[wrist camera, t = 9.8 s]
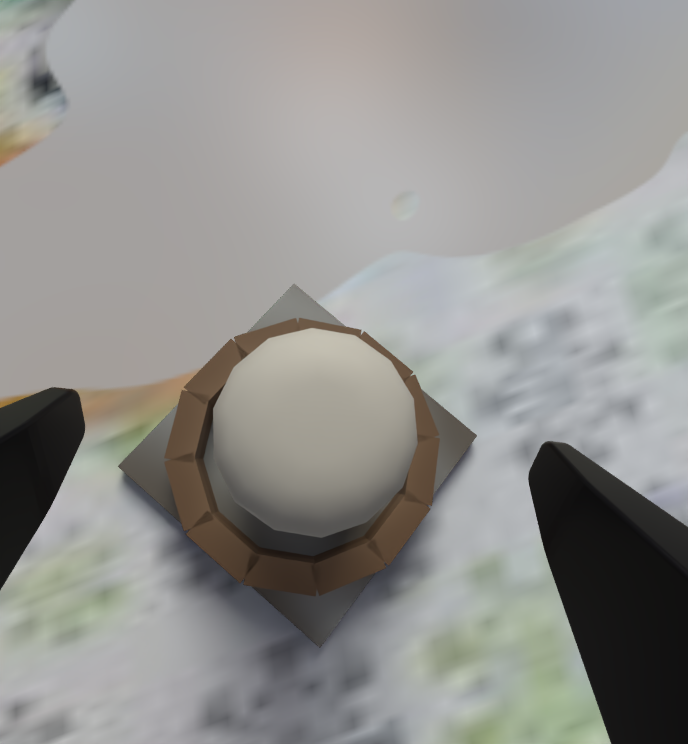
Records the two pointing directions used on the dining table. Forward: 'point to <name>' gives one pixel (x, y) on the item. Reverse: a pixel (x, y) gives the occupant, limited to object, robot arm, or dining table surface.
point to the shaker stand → (252, 536)
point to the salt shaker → (314, 432)
